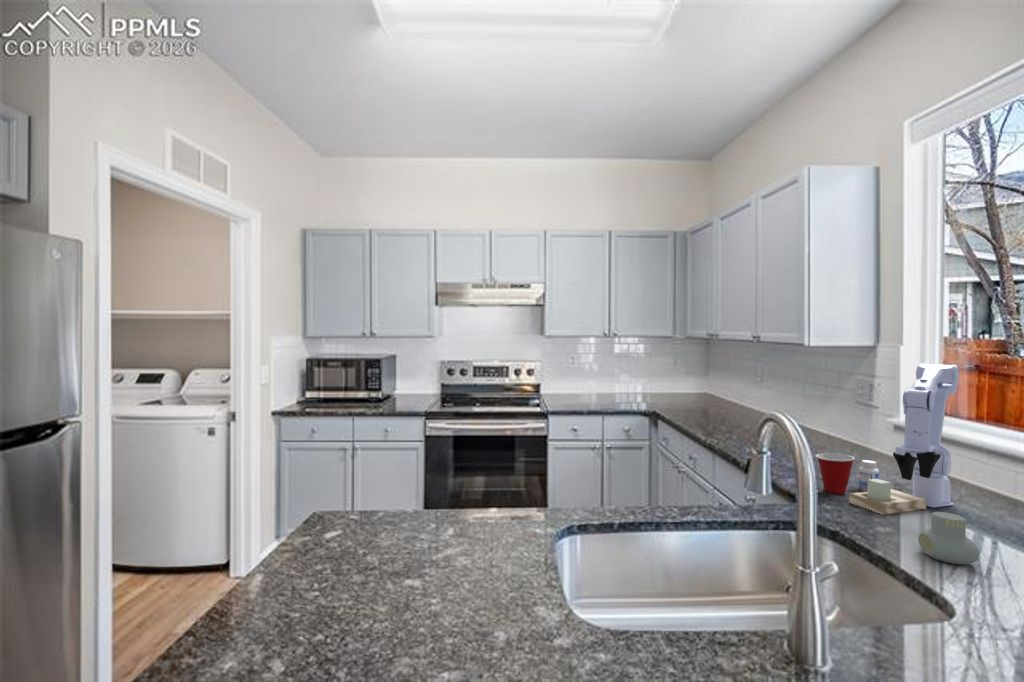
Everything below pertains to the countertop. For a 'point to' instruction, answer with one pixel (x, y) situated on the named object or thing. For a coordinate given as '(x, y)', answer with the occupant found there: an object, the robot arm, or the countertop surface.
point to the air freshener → (948, 540)
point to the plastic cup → (835, 471)
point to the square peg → (879, 490)
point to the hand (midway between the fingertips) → (915, 478)
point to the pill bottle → (867, 473)
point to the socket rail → (889, 502)
